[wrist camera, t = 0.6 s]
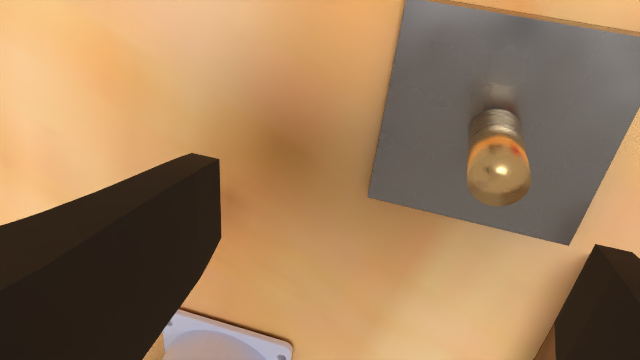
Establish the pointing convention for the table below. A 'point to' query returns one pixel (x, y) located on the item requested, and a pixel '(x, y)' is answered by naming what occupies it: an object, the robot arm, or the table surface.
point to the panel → (504, 116)
